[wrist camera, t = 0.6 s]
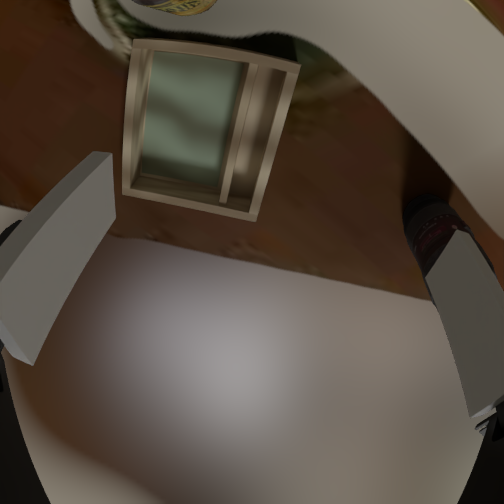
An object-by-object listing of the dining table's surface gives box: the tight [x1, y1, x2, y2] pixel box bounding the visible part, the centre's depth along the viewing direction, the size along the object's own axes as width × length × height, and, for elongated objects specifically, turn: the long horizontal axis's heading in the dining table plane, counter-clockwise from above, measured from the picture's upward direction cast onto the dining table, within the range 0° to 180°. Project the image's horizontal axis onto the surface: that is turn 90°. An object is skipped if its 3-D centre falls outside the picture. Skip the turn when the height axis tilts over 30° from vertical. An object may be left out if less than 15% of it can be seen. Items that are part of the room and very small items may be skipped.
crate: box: [122, 38, 301, 222], centre depth 30 cm, size 18×16×4 cm
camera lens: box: [403, 194, 497, 310], centre depth 31 cm, size 8×8×15 cm
